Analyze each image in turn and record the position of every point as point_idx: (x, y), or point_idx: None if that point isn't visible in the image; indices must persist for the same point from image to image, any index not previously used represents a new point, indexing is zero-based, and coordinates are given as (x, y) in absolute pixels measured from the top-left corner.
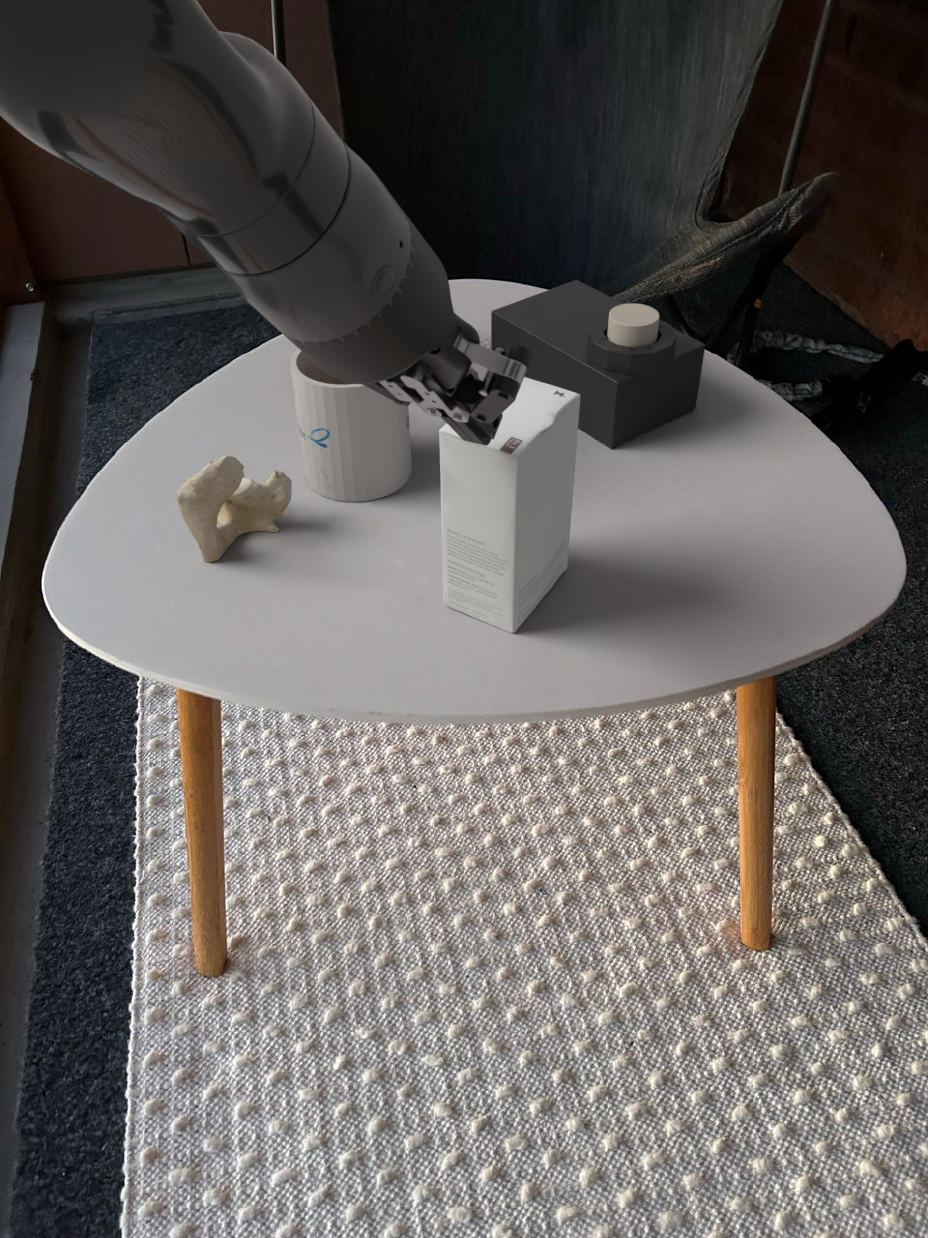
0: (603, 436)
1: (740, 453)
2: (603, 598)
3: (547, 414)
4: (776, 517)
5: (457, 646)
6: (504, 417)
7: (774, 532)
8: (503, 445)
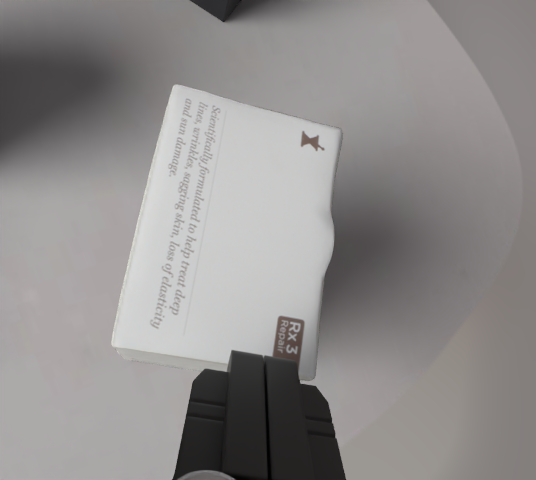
0: (212, 6)
1: (350, 10)
2: None
3: (317, 217)
4: (410, 102)
5: (166, 422)
6: (241, 255)
7: (415, 125)
8: (273, 350)
